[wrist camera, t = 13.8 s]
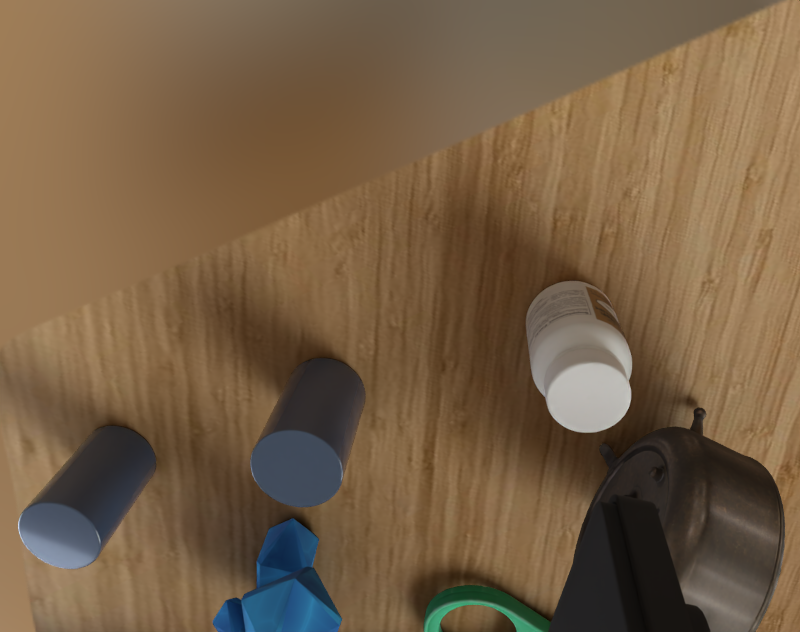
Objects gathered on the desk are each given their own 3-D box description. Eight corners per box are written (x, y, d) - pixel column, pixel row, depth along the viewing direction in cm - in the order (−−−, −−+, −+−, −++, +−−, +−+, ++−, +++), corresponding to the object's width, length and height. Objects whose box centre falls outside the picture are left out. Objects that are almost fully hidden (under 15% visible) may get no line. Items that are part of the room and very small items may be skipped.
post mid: (292, 349, 39) (254, 420, 33) (372, 367, 39) (349, 441, 33) (282, 417, 41) (245, 496, 35) (358, 433, 41) (335, 516, 35)
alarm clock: (625, 548, 42) (697, 848, 28) (542, 512, 42) (571, 797, 27) (738, 405, 38) (896, 675, 23) (646, 363, 37) (748, 610, 23)
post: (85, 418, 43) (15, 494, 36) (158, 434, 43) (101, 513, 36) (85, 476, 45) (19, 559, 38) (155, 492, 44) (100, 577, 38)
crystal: (190, 714, 42) (182, 606, 34) (238, 580, 49) (240, 465, 41) (316, 743, 42) (336, 640, 34) (347, 604, 49) (369, 493, 41)
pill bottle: (623, 344, 37) (655, 428, 30) (539, 366, 38) (551, 453, 31) (602, 267, 35) (630, 337, 28) (514, 293, 36) (520, 367, 29)
